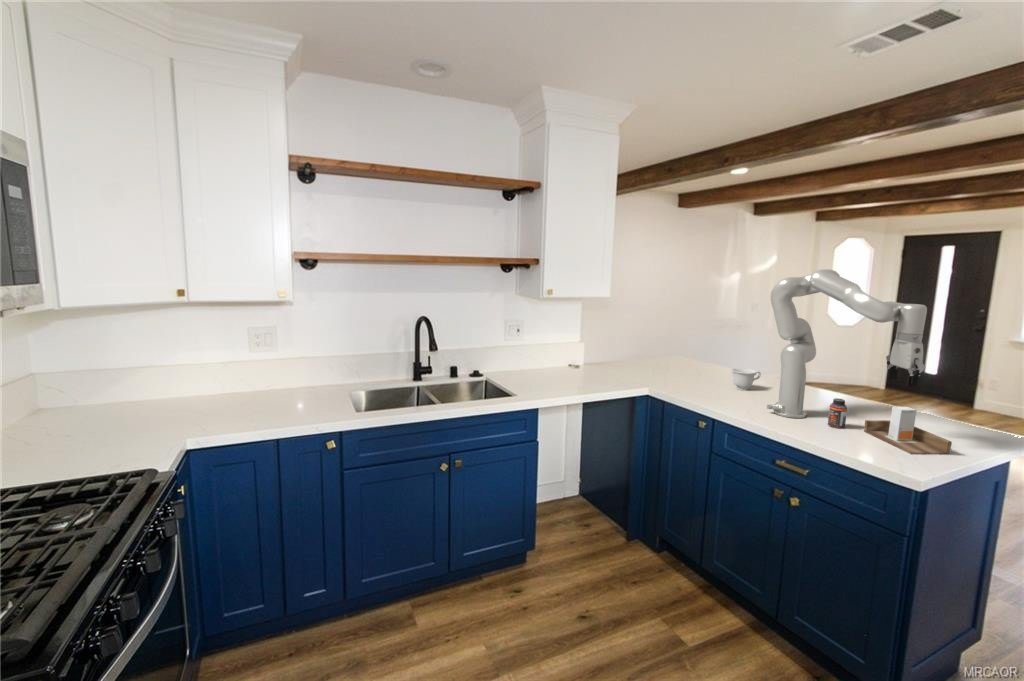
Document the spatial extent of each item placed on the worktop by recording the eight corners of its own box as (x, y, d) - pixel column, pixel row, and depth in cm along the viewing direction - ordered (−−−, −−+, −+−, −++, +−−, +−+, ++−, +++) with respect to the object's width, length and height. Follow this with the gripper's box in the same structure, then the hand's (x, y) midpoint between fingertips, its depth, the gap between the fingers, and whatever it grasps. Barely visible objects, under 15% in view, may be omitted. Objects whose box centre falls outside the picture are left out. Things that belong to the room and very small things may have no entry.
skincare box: (897, 441, 178) (901, 409, 176) (887, 437, 182) (891, 406, 180) (912, 440, 178) (917, 409, 176) (903, 436, 182) (907, 406, 180)
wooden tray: (910, 454, 167) (912, 441, 166) (863, 431, 190) (865, 420, 189) (949, 454, 167) (951, 441, 166) (898, 431, 190) (899, 420, 189)
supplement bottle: (824, 425, 197) (826, 398, 196) (833, 423, 200) (836, 396, 198) (838, 429, 192) (842, 402, 190) (848, 427, 194) (851, 400, 193)
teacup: (765, 392, 249) (766, 373, 247) (736, 391, 249) (737, 373, 248) (753, 386, 261) (755, 368, 259) (726, 386, 261) (727, 368, 259)
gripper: (939, 342, 168) (930, 389, 171) (901, 334, 185) (894, 377, 188) (917, 341, 168) (909, 388, 171) (881, 333, 185) (874, 376, 188)
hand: (901, 382), depth 179 cm, fingers open, 9 cm apart
